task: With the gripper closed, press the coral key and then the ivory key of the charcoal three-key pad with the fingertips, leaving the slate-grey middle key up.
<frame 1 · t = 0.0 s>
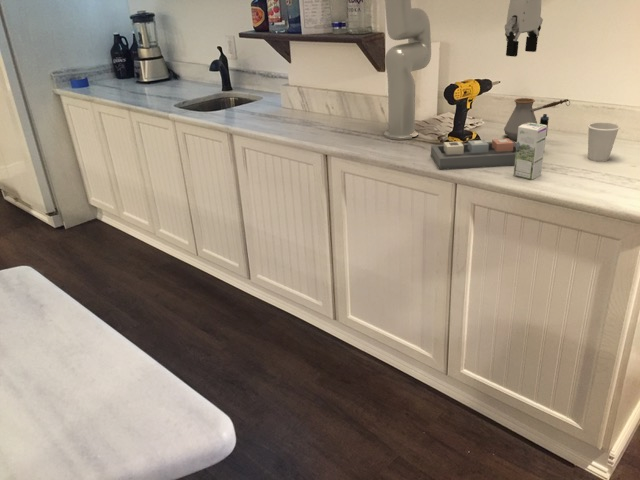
hand: (521, 53, 152), 31 cm above the kitchen counter, tool pointing down, fingers open, 9 cm apart
coffee pot: (533, 140, 183), on the kitchen counter
vaping device: (535, 152, 172), on the kitchen counter
key slate: (478, 146, 166), point 4 cm above the kitchen counter, slide at 0.0 cm
key ivory: (453, 147, 166), point 4 cm above the kitchen counter, slide at 0.0 cm
key coral: (502, 144, 166), point 4 cm above the kitchen counter, slide at 0.0 cm
keypad base: (477, 160, 168), on the kitchen counter
syrup box: (527, 176, 153), on the kitchen counter
dixie cup: (598, 159, 162), on the kitchen counter
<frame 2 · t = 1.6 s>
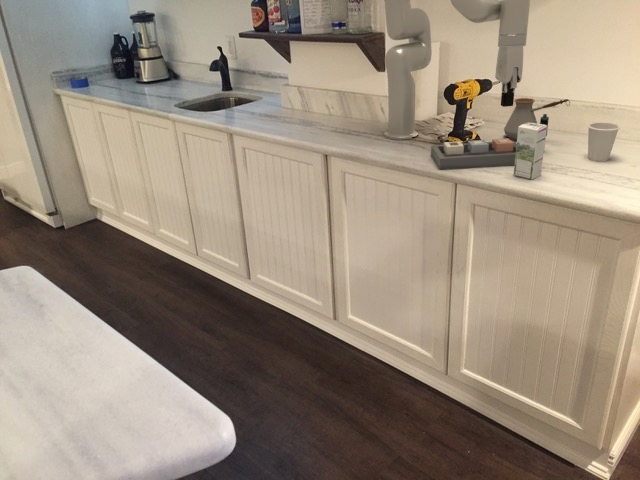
hand: (506, 105, 160), 16 cm above the kitchen counter, tool pointing down, fingers closed
nothing on the kitchen counter moved.
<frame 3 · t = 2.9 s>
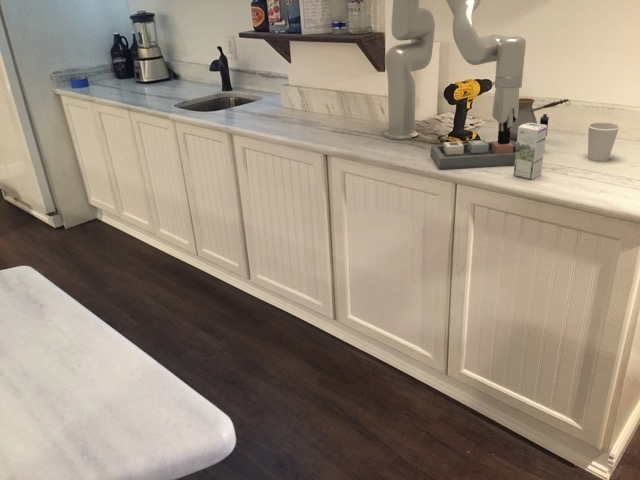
hand: (503, 143, 165), 5 cm above the kitchen counter, tool pointing down, fingers closed
key coral: (502, 147, 166), point 4 cm above the kitchen counter, slide at 0.8 cm, touching gripper
everything else where it was.
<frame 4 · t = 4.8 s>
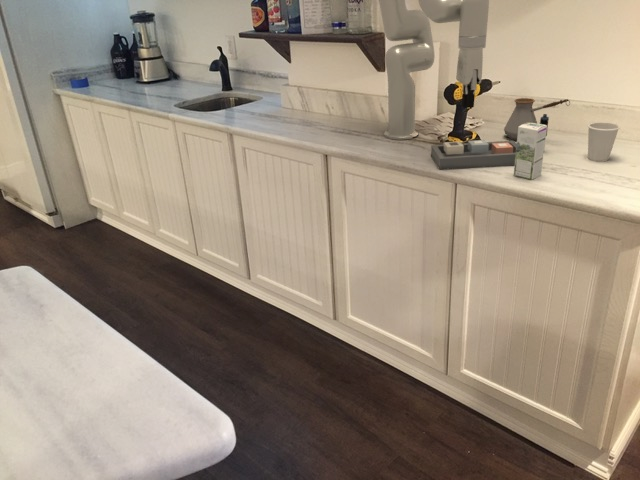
hand: (467, 107, 161), 17 cm above the kitchen counter, tool pointing down, fingers closed
key coral: (502, 148, 166), point 3 cm above the kitchen counter, slide at 1.3 cm
everything else where it was.
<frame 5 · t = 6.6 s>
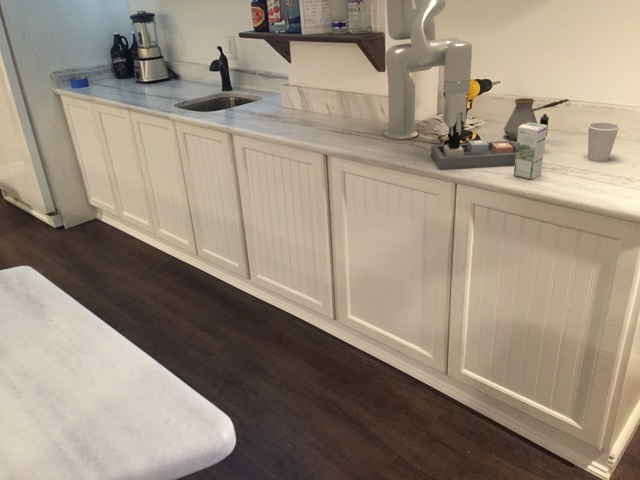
hand: (453, 147, 166), 5 cm above the kitchen counter, tool pointing down, fingers closed
key ivory: (453, 151, 166), point 3 cm above the kitchen counter, slide at 1.1 cm, touching gripper
everything else where it was.
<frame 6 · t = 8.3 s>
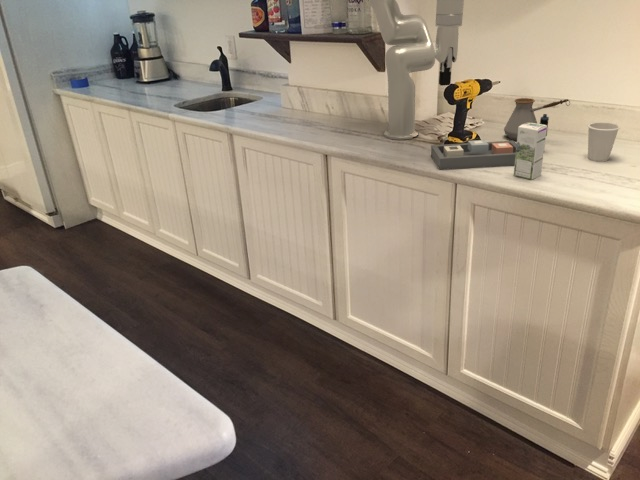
hand: (444, 84, 164), 22 cm above the kitchen counter, tool pointing down, fingers closed
key ivory: (453, 151, 166), point 3 cm above the kitchen counter, slide at 1.3 cm
everything else where it was.
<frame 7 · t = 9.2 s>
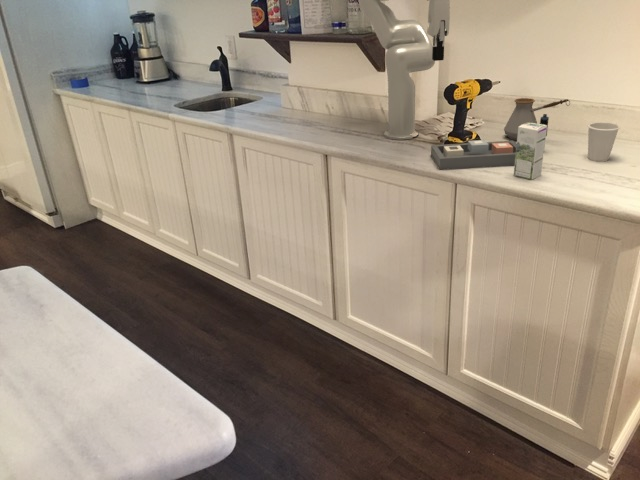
hand: (437, 60, 165), 29 cm above the kitchen counter, tool pointing down, fingers closed
nothing on the kitchen counter moved.
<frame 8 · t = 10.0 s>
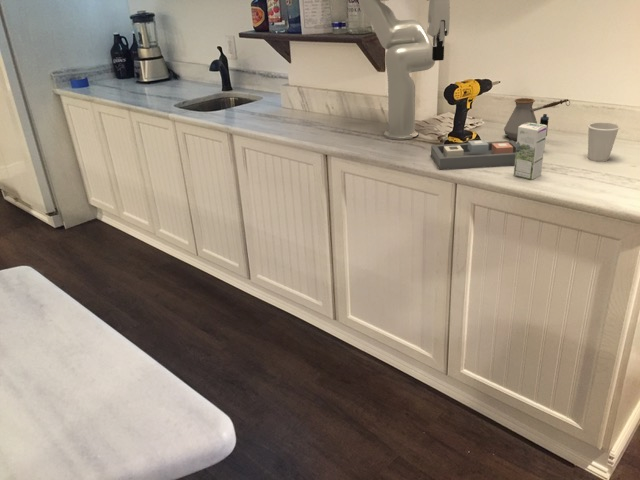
hand: (437, 60, 165), 29 cm above the kitchen counter, tool pointing down, fingers closed
nothing on the kitchen counter moved.
at the end: key coral slide at 1.3 cm; key ivory slide at 1.3 cm; key slate slide at 0.0 cm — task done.
